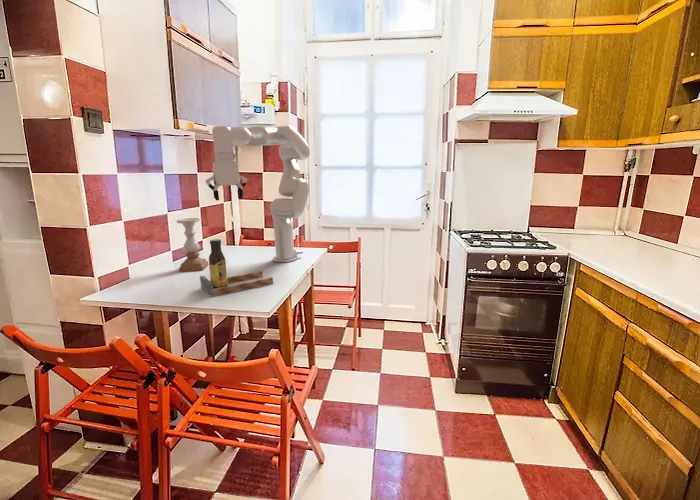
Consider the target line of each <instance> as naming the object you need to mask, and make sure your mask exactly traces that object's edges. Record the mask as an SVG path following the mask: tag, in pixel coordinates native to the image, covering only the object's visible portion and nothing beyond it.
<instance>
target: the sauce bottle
mask: <svg viewBox="0 0 700 500" xmlns="http://www.w3.org/2000/svg"><path fill="white" fill-rule="evenodd" d="M221 243H222V240H221V239H219V238H218V239H216V238H215V239H210V240H209V245H210V251H211V252H210V254H209V256H208V267H209V277H210V281H211V283H212V284H213V289H215V288H220V287H225V286H228V285H229V284H228V282H227V277H228V273H227V271H228V270H227V261H226V258H225V256H224V253H223V251H222V247H221V245H222V244H221Z"/></svg>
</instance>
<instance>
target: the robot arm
mask: <svg viewBox="0 0 700 500" xmlns="http://www.w3.org/2000/svg"><path fill="white" fill-rule="evenodd" d="M211 129H212V131H211V132H212V139H213V150H214V160H215V161H213V162H212V176H210V177H209V178H207V179H205V183H206V185H207V186H208V188H209V189H211V190H212V191H213V198H214V199H215V201H220V196H219V191H218V189H219V187H220V186H221V187H223V186H225V187H227V186H236V187H237V188H238V189H237V197H238V199H241V200H242V199H243V197H244V193H243V192H244V191H243V189H244V188H245V186H246V185H247V183H248V178H247V177H245V176H243V175H241V174H240V171H239V166H238V163H237V161H236V159H237V158H238V154H235V151H234V147H242V146H246V147H247V146H248V147H249V146H252V147H260V146H261V147H265V146H279V148H278V155H279V157H280V158H279V159H281V162H282V165H283V172H282V175H281V179H280V182H279V186H278V193H279V195H280V196H281V197H283V198H281V197H280V198H274V199H273V200H272V201H271V203H270V207H269V209H270V214H271V217H272V222H273V235H274V237H273V238H274V246H275V247H274V249H275V256H274V257H273V258H272V260H273V261H274V262H277V263H288V262H293V261H297V260H298V255H301V254H302V255H303V253H304V251H303V249H300V250H299V249H295V242H294V228H293V226H294V225H293V223H292V220H291V219H299V218H301V217H302V215H303V214H304V211H305V208H306V204H307V201H308V197H309V191H310V186H309V183H308V182H307V180H306V179H304V178H300V174H301V169H300V167H299V165H298V163H297V161H303V160H307V159H308V158H309V156H310V154H311V153H310V152H311V151H310V150H311V149H310V147H309V145H308V143H307V141H306V140H305V139H304V138H303V136H302V135H301V134H300V132H298V130H297V129H296V128H295V127H293V126H292V125H282V126H280V125H279V126H266V125H265V126H264V125H263V126H261V125H259V126H251V127H243V126H235V127H234V126H232V127H230V126H228V125H216V126H213V127H212V128H211ZM241 180H242V183H241ZM212 181H213V184H214V185H213V184H212V183H211V182H212Z"/></svg>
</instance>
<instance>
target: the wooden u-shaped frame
mask: <svg viewBox="0 0 700 500" xmlns="http://www.w3.org/2000/svg"><path fill="white" fill-rule="evenodd" d="M263 276H264V274H263V271H262V270H259V271H254V272H253V271H252V272H249V273H244V274H239V275H232V276H229V277H228V276H227V282H228V284H227V286H225V287H220V288H215V289H213V284H212V283H211V280H209V279H208V278H207V277H206V276H205V275H201V276H200V275H199V281H200V289H202V291H203V292H204V293H205V294H206V295H207V296H208V297H209V298H211V297H216V296H217V297H218V296H222V295H226V294H231V293H235V292H241V291H244V290H249V289H254V288H258V287H259V288H260V287H264V286H268V285H273V284H274V278H273V277H272V276H270V277H266V278H263ZM260 278H261V279H260ZM250 280H251V281H250ZM239 282H241V283H239ZM235 283H236V284H235ZM229 284H230V285H229Z"/></svg>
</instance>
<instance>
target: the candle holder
mask: <svg viewBox="0 0 700 500" xmlns="http://www.w3.org/2000/svg"><path fill="white" fill-rule="evenodd" d="M198 222H200V218H199V217H198V218H197V217H193V218H192V217H190V218H189V217H188V218H181V219H177V220H176V223H177V224H182V226H183V227H184V229H185V230H184V233H183V234H184V235H185V237H186V240H185V242H184V244H183V246H182V247H183V250H184V251H185V252H186V253H185V256H186V259H184V261H183V262H181V264H180V266H179V267H178V269H179V272H181V273H182V272H200V271H204V270H205V269H206V268H207V267H209V260H207V259H206V258H203V257H200V252H199V250H200V249H201V246H200V243H199V242H198V240H196V238H195V236H196V231H195V230H194V229H195V228H194V226H195V225H196V224H195V223H198Z"/></svg>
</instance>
